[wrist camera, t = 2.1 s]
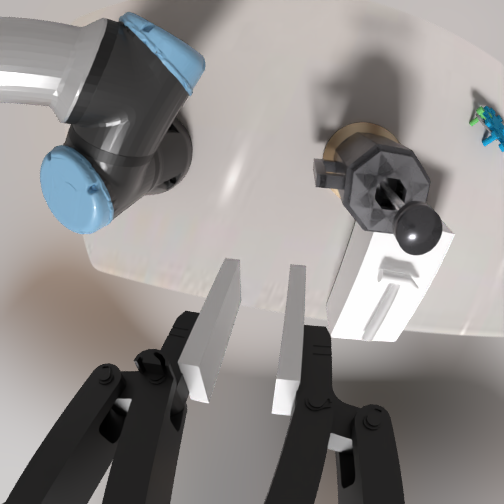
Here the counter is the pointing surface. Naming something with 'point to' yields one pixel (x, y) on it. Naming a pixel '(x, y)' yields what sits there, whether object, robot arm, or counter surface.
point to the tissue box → (380, 285)
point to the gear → (490, 125)
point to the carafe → (371, 177)
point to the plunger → (410, 219)
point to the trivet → (349, 131)
